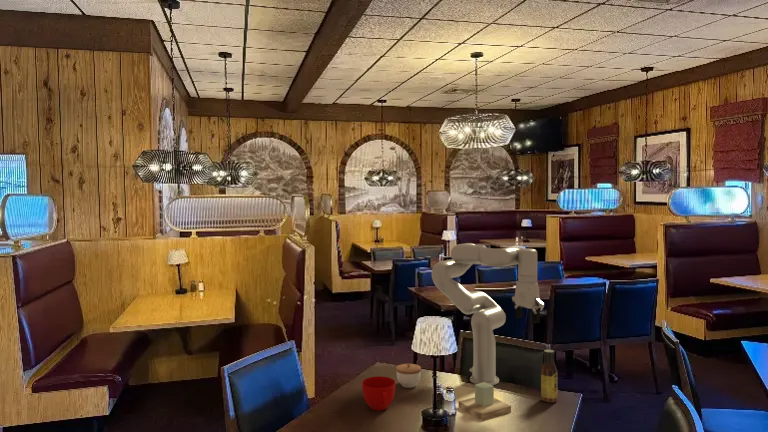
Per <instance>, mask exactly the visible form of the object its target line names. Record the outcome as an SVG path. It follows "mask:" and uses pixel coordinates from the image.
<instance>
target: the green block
mask: <svg viewBox="0 0 768 432" xmlns="http://www.w3.org/2000/svg"><path fill="white" fill-rule="evenodd" d="M494 388H495V387H494V385H490V384H488V383H486V382H483V383H479V384H474V397H475V403H477V404H479V405H481V406H483V407H485V406H488V405H492V404H494V398H495V397H494Z"/></svg>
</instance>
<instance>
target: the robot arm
mask: <svg viewBox="0 0 768 432" xmlns="http://www.w3.org/2000/svg"><path fill="white" fill-rule="evenodd" d="M450 257H451V259H446V260H440V261H439V262H437V263H435V264H434V265H433V267H432V270H431V279H432V282H433V284H434V285H435V287H436V288H437V289H438V290H439V292H441V294H443V295H444V296H446V298H448V299H449V302H451V303H452V304H453V305H454V306H455V307H456V308H457V309H459V311H461V313H463V314H465V315H472V314H473V315H472V316H471V319H470V323H471V329H472V340H473V342H472V343H473V344H472V345H473V358H472V360H473V365H472V367H470V368H469V372H470V373H471V374H472V375H471V376H470V377H469V381H470V382H471V383H472V384H474V385H475V384H479V383H483V382H486V383H488V384H490V385H493V386H494V385H495V386H496V385H497V384H499V382H500V378H499V377H498V376H497V375H496V370H497V369H496V368H497V367H496V366H497V365H496V364H497V363H496V361H497V360H496V358H497V357H496V338H495V335H494V330H495V329H498V328H500V327H503V326H504V324H505V323H506V320H507V319H506V318H507V316H506V313H505V312H504V309H502V307H501V306H500V305H499V304H497V302H496V301H495V300H493V299H492V298H491V296H489V295H488V294H487V293H486V292H483V291H481V290H472V291H469V290H467V289H466V288H465V287H464V286H463V285H462V284H461V283H459V282H458V281H456V280H454V279H455V278H458V277H461V276H462V275H464V274H465V273H466V272H467V270H469V269H470V268H471V266H473V265H481V266H485V267H496V268H498V267H501V268H504V267H510V266H515V265H518V267H517V268H518V269H517V272H518V273H517V279H518V280H517V281H516V284H515V292H514V295H513V296H512V297H511V299H512V304H513V306H514V309H515V319H517V320H518V319H522V318H523V317H524V316H523V315H524V314H523V308H525V309H531V310H532V312H533V313H532V324H534V325H535V324H539V323H541V313H542V311H543V310H544V307H545V302H543V301H542V300H541V299H540V287H539V283H538V251H537V250H536V249H534V248H523V247H520V246H519V247H518V246H510V247H509V246H508V247H502V248H489V247H487V246H486V245H485V244H475V243H472V242H466V243H459V244H455V245H454V246H453V247H452V249H451V250H450ZM453 278H454V279H453Z"/></svg>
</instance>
